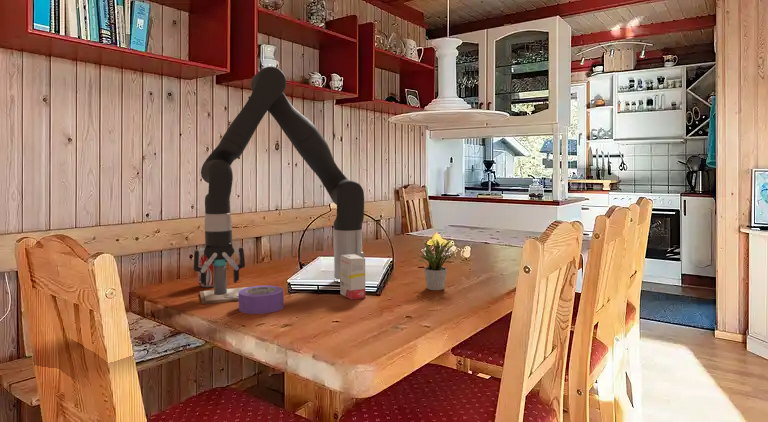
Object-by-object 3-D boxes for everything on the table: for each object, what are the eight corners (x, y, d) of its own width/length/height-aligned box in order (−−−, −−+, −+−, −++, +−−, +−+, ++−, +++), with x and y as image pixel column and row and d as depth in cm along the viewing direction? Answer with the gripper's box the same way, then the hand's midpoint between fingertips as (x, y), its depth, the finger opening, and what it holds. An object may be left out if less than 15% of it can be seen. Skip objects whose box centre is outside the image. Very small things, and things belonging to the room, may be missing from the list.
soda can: (214, 288, 167) (213, 250, 166) (193, 287, 168) (192, 249, 167) (225, 283, 174) (224, 247, 173) (205, 282, 175) (204, 246, 174)
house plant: (468, 285, 169) (469, 234, 167) (455, 295, 156) (455, 240, 155) (426, 281, 175) (426, 232, 173) (410, 290, 162) (410, 237, 161)
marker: (226, 291, 159) (225, 257, 158) (227, 294, 156) (226, 259, 155) (213, 292, 158) (212, 258, 157) (214, 295, 154) (213, 260, 154)
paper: (263, 287, 167) (263, 284, 167) (271, 297, 154) (271, 294, 154) (199, 293, 160) (199, 290, 160) (202, 304, 148) (201, 301, 147)
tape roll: (261, 317, 136) (260, 297, 135) (229, 310, 142) (228, 292, 141) (292, 306, 146) (292, 288, 145) (261, 300, 152) (261, 283, 151)
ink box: (366, 298, 153) (366, 257, 152) (350, 300, 151) (349, 259, 150) (355, 292, 161) (354, 253, 160) (339, 293, 159) (339, 254, 158)
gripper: (241, 226, 161) (243, 279, 163) (191, 228, 156) (193, 283, 158) (245, 229, 154) (246, 284, 156) (192, 231, 149) (194, 288, 151)
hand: (220, 283), depth 157 cm, fingers open, 8 cm apart
